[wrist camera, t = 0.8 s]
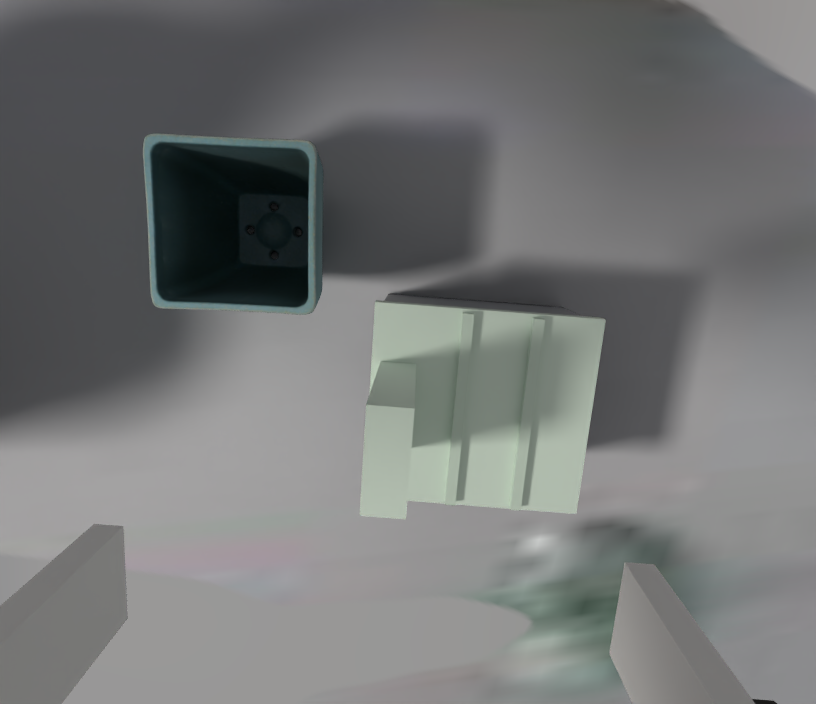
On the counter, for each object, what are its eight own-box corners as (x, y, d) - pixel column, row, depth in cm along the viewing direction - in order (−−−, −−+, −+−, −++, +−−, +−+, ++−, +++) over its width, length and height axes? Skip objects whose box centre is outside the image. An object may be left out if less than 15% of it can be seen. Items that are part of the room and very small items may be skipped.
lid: (366, 485, 33) (344, 582, 23) (377, 298, 30) (358, 324, 21) (568, 500, 33) (628, 605, 23) (596, 315, 30) (675, 348, 21)
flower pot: (342, 164, 35) (316, 139, 26) (340, 298, 37) (315, 315, 28) (210, 159, 35) (140, 132, 26) (214, 292, 37) (150, 308, 28)
